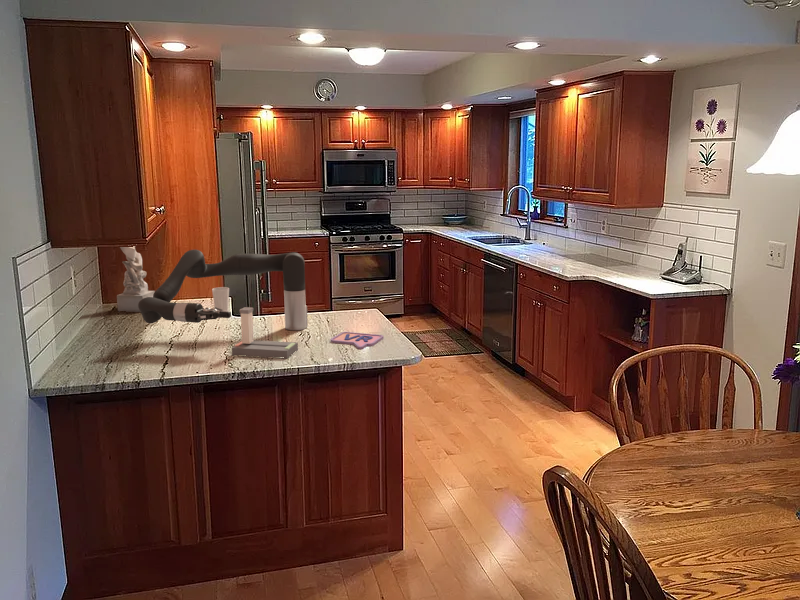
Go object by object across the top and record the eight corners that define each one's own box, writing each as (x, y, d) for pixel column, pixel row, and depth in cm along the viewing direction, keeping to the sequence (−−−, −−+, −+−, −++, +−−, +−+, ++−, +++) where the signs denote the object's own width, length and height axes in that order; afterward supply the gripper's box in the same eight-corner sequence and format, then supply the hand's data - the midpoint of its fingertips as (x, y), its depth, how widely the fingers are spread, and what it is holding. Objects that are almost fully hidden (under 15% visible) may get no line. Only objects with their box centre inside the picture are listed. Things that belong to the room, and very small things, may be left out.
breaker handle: (245, 340, 260) (244, 307, 257) (254, 340, 259) (253, 307, 257) (241, 343, 256) (239, 309, 253) (249, 343, 255) (248, 310, 252)
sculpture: (155, 306, 339) (150, 237, 332) (143, 312, 326) (138, 240, 319) (130, 305, 340) (125, 237, 333) (117, 311, 327) (111, 240, 320)
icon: (323, 343, 267) (343, 331, 286) (323, 346, 267) (343, 334, 286) (367, 347, 261) (385, 335, 280) (367, 351, 261) (385, 338, 280)
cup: (232, 311, 328) (231, 287, 325) (226, 315, 320) (225, 290, 318) (216, 311, 329) (215, 287, 326) (210, 314, 321) (209, 290, 318)
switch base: (244, 346, 265) (244, 338, 264) (297, 349, 261) (297, 341, 260) (232, 355, 253) (231, 346, 252) (287, 358, 249) (287, 350, 248)
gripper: (197, 318, 266) (237, 320, 263) (180, 325, 254) (222, 328, 250) (196, 299, 265) (237, 302, 262) (179, 306, 252) (222, 308, 249)
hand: (230, 314), depth 256 cm, fingers closed
